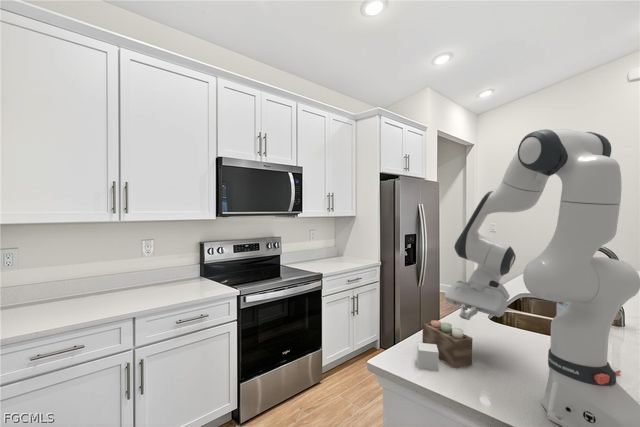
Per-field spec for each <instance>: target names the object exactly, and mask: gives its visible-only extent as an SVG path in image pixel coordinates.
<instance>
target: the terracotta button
mask: <svg viewBox="0 0 640 427" xmlns="http://www.w3.org/2000/svg"><path fill="white" fill-rule="evenodd" d="M430 323H431V326H432V327H434V328H439V327H441V323H442V322H441V321H440V320H435V319H432V320H430Z"/></svg>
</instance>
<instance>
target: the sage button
mask: <svg viewBox="0 0 640 427" xmlns="http://www.w3.org/2000/svg"><path fill="white" fill-rule="evenodd" d="M452 328H453V326H452V324H451V323H449V322H441V331H442V332H444V333H451V332H452Z"/></svg>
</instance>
